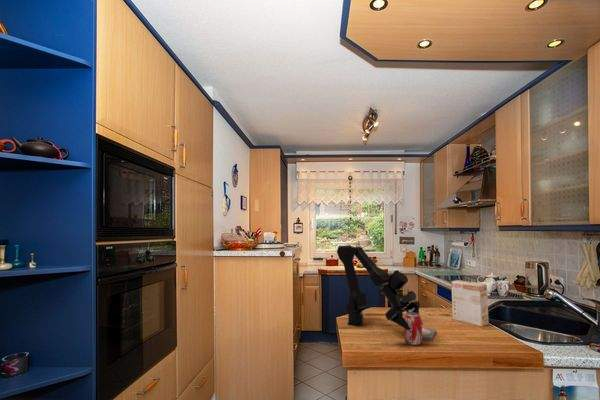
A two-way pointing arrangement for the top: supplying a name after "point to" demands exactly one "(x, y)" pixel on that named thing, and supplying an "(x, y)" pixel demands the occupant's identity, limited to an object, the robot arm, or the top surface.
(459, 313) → the coffeecake box
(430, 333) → the dock pad
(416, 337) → the soda can
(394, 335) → the top surface
